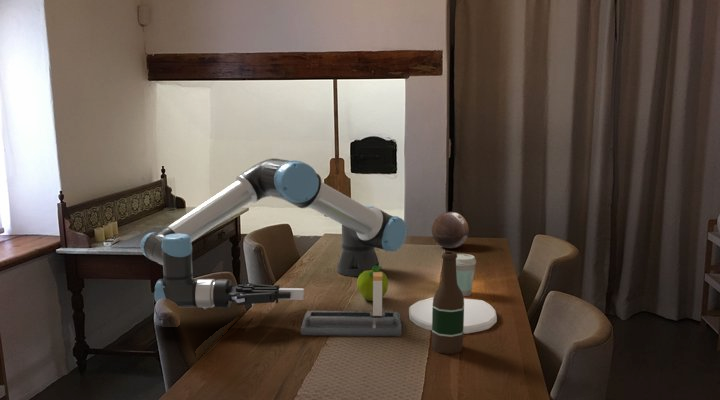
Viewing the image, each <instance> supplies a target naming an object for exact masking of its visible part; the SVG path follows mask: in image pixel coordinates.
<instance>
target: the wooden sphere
mask: <svg viewBox="0 0 720 400" xmlns="http://www.w3.org/2000/svg"><path fill="white" fill-rule="evenodd" d="M469 228H470V227H469V223H468V222H467V220H466V218H465V217H464V216H463V215H461V214H460V213H458V212H454V211H446V212H443V213H441V214H439V215H438V216H436V218H435V219H434V221H433V223H432V227H431V234H432V237H433V239H434V241H435V243H437V244H438V245H439V246H440V247H442V248H446V249H457V248H458V247H461V246H462V245H463V244H464V243H465V242H466V241H467V239H468V237H469V233H470V229H469Z"/></svg>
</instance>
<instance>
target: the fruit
mask: <svg viewBox="0 0 720 400" xmlns="http://www.w3.org/2000/svg"><path fill="white" fill-rule="evenodd" d="M381 268H382V266H381V265H380V266H373V267H372V269H373V270H369V271H364V272H363V273H361V274H360V275H359V276H357V277H358V278H357V280H356V286H357V289H358V292H359V293H360V295H361V296H362V297H363V299H365V300H366V301H369V302H373V272H382V298H384V296H385V295H386V293H387V291H388V288H389V281H388V277H387V275H386V274H385V272H384V271H381ZM379 269H380V271H378V270H379Z"/></svg>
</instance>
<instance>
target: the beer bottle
mask: <svg viewBox="0 0 720 400" xmlns="http://www.w3.org/2000/svg"><path fill="white" fill-rule="evenodd" d="M457 254H458V253H456V252H453V251H444V252H443V253H442V255H441V259H442V264H441V265H442V266H441V278H440V285H439V286H438V288H437V290H436V291H435V292H434V295H433V297H434V298H433V309H432V330H431V347H432V350H434V351H436V352H437V353H439V354H446V355H454V354H458V353H461V351H462V349H463V345H464V334H463V330H464V299H465V296H463V294H462V291H461V290H460V288H459V287H458V284H457V273H456V258H457Z"/></svg>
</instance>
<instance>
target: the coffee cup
mask: <svg viewBox="0 0 720 400" xmlns="http://www.w3.org/2000/svg"><path fill="white" fill-rule="evenodd" d="M456 254H457V258H456V273H457V284H458V287H459V288H460V290H461V291H462V294H463V297H469V296H471V295H472V290H473V283H474V276H475V269H476V264H477V260H476V258H475V257H476V256H474V255H472V254H469V253H468V254H467V253H456Z"/></svg>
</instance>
